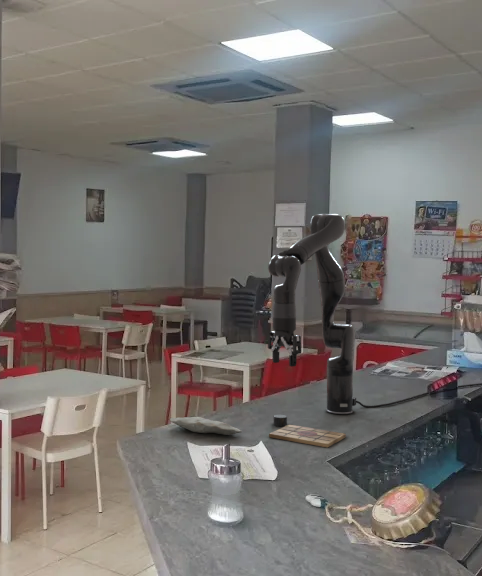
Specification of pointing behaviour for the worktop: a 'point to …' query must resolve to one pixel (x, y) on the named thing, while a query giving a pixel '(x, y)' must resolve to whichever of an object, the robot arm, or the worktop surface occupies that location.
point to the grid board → (308, 435)
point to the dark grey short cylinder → (280, 420)
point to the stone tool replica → (205, 425)
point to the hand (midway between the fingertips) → (284, 364)
